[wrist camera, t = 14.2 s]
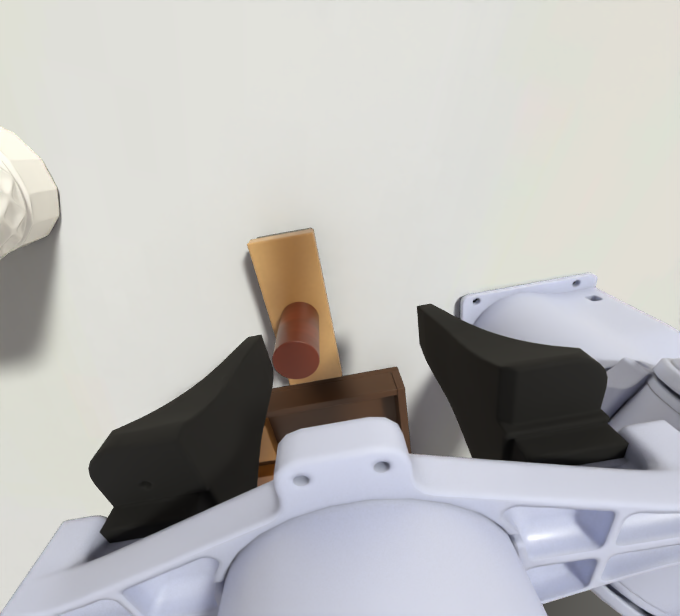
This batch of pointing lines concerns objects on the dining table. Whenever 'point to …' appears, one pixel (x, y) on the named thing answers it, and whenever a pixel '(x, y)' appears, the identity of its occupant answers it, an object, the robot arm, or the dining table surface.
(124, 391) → the dining table surface
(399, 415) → the tray
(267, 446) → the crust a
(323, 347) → the wooden stamp
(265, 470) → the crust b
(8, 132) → the white cup
